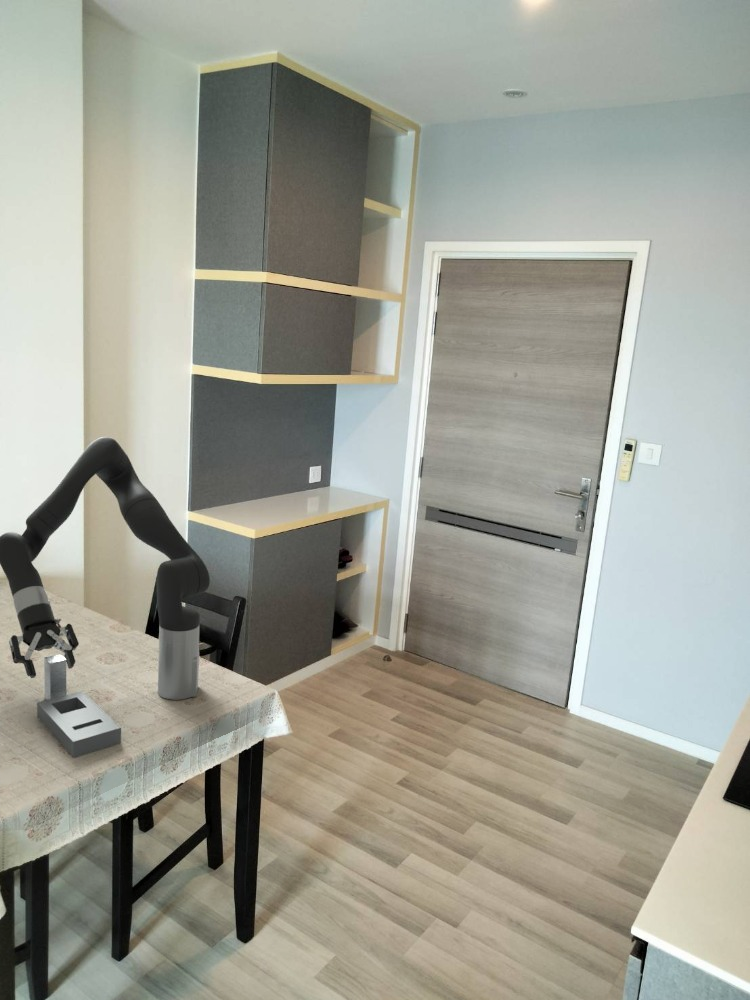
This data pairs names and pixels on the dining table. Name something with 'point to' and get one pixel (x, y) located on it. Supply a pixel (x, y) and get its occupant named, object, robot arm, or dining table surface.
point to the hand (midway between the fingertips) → (52, 672)
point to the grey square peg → (55, 676)
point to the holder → (78, 723)
